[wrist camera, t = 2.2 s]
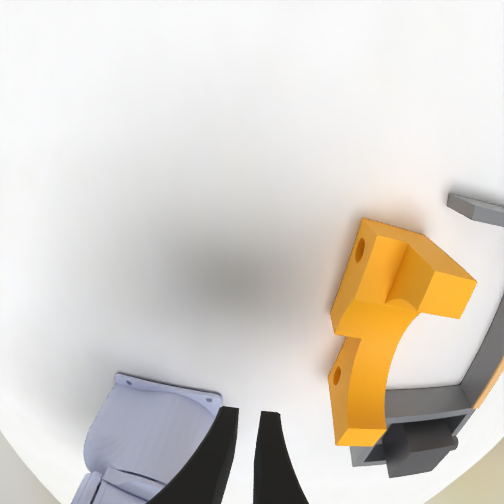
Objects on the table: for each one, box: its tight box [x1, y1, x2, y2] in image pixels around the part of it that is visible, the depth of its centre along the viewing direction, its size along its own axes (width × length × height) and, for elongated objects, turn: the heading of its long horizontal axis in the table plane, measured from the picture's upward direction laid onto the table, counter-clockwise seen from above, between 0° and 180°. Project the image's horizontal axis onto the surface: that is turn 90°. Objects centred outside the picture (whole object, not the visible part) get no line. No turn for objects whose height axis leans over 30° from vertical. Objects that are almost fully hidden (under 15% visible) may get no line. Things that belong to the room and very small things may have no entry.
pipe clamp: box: [328, 218, 477, 447], centre depth 16 cm, size 12×4×6 cm, turn 169°
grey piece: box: [350, 193, 504, 478], centre depth 17 cm, size 10×24×6 cm, turn 176°
